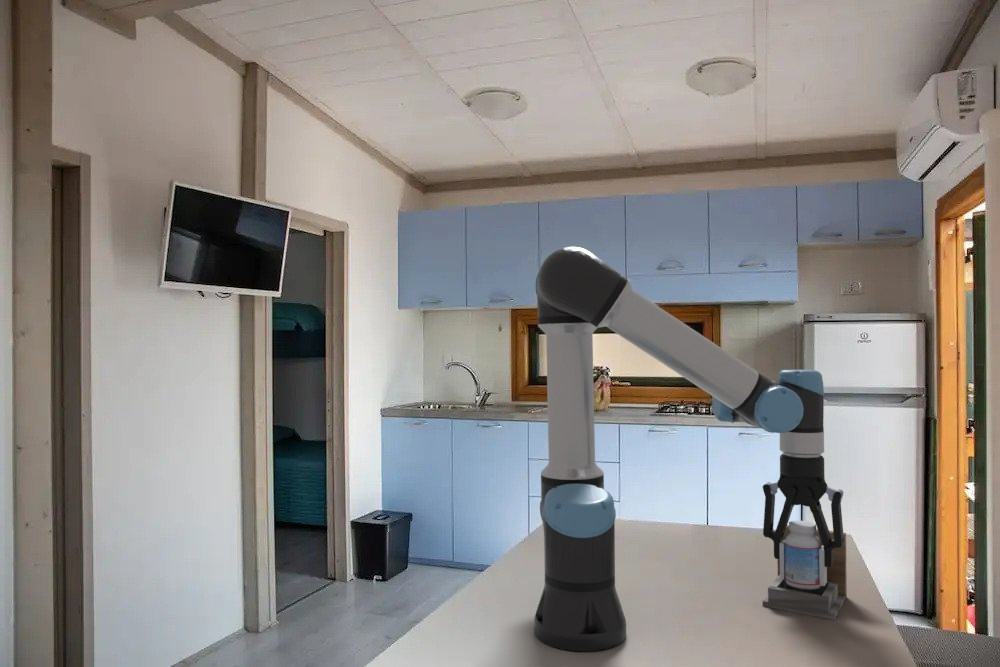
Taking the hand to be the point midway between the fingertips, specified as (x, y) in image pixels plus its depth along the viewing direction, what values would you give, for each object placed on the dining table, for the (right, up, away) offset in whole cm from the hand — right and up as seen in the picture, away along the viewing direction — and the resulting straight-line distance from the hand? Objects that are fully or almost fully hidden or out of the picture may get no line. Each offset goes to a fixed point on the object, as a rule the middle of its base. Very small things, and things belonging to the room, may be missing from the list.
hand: (803, 580), depth 130 cm
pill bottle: (0, -1, 0) cm, 1 cm away
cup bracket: (+1, -4, +1) cm, 5 cm away
